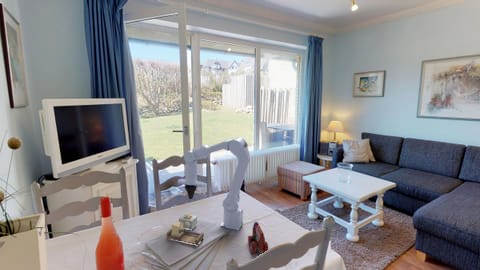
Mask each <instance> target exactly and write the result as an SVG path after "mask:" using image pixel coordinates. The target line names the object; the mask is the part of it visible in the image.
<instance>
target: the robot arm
mask: <svg viewBox="0 0 480 270" xmlns="http://www.w3.org/2000/svg"><path fill="white" fill-rule="evenodd" d="M222 150H226V151H227V152H230V153H232V155H234V156H235V157H236V159H237V161H238V162H237V165H236V169H235V171H234V172H235V173H234V176H233V178H232V181H231V185H230V186H229V187H230V188H229V190H228V193H227V195H226V197H225V198H224V200H223V201H222V206H223V221H222V222H221V224H220V225H221V226H225V227H226V228H227V229H231V230H235V231H239V230H240V229H241V226H242V225H243V223H244V209H242V208H240V207H239V202H240V201H241V200H240V199H241V197H240V193H241V188H242V185H243V181H244V178H245V175H246V172H247V169H248V166H249V164H250V160H251V156H250V151H249V145H248V143H247V141H246V140H245V139H244V138H243V137H236V138H231V139H226V140H223V141H221V142H218V143H216V144H212V145H211V146H209V145H207V144H202V145H200V147H196V148H195V147H193V148H192V149H190V150H188V151H186V152H185V153H184V154H183V159H184V162H185V178H179V179H178V180H177V184H181V185H185V186H184V189H185V191H186V194H187V195H188V196H187V197H188V199H189V200H192V199H194V196H195V195H194V194H195V192H196V189H197V187H199V188H205V185H206V183H205V182H203V181H199V180H198V160H199V161H200V160H201V159H204V158H207V157H210V156H211V154H212V153H215V152H218V151H222ZM221 226H220V227H221ZM225 227H224V228H225Z"/></svg>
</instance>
